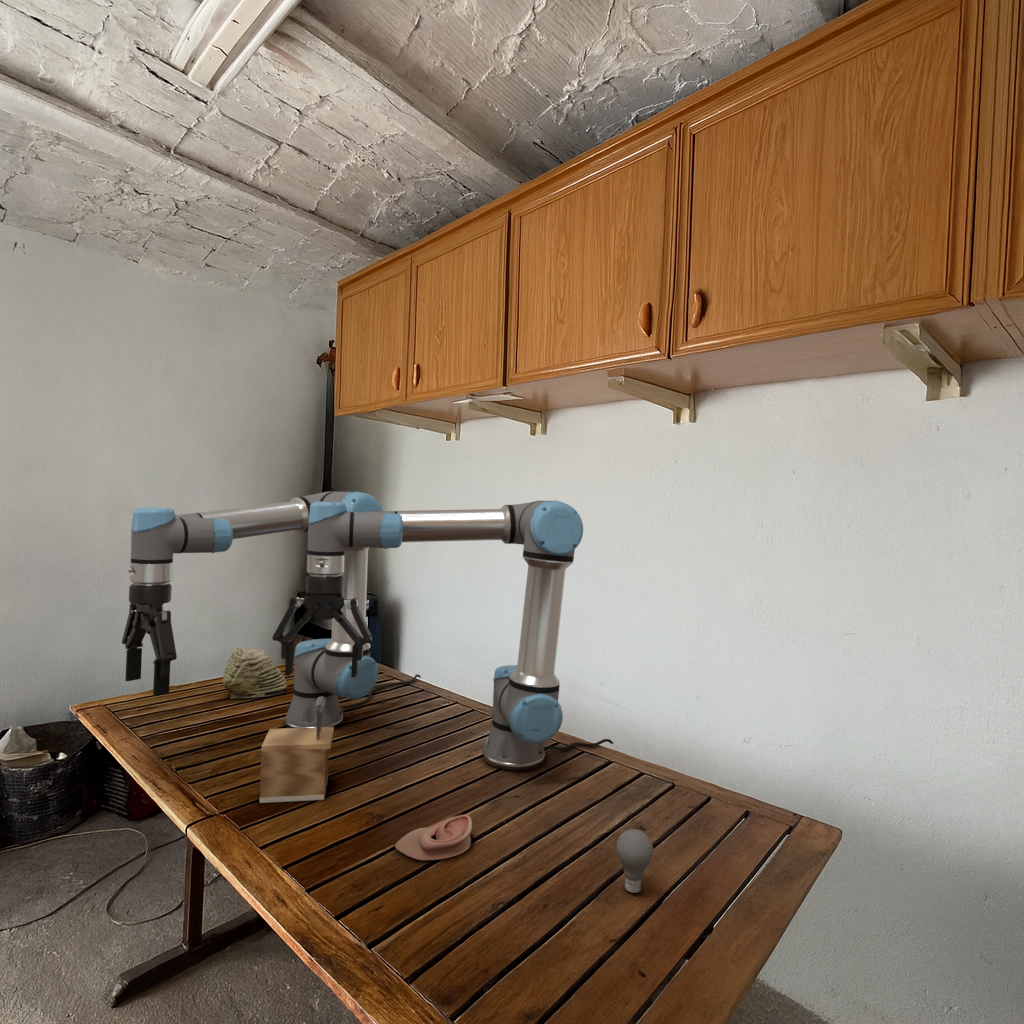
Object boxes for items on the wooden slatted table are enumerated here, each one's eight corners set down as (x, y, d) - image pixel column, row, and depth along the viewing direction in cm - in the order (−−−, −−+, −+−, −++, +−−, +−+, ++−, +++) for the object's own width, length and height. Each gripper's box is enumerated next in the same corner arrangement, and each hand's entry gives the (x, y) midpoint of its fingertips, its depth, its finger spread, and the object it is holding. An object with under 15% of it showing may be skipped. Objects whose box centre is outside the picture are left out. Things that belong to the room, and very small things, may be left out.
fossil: (218, 695, 195) (220, 647, 195) (278, 685, 208) (279, 640, 207) (228, 703, 189) (230, 653, 188) (289, 692, 201) (290, 645, 201)
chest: (327, 779, 142) (329, 732, 142) (324, 799, 133) (326, 749, 132) (267, 781, 139) (269, 734, 139) (259, 802, 130) (261, 751, 130)
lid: (333, 731, 142) (335, 693, 142) (330, 748, 133) (332, 707, 132) (269, 733, 139) (270, 694, 139) (261, 751, 130) (262, 708, 130)
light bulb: (610, 879, 108) (613, 822, 108) (644, 879, 109) (647, 822, 109) (619, 902, 102) (622, 840, 102) (655, 901, 103) (658, 840, 103)
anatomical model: (389, 833, 113) (412, 803, 124) (388, 855, 113) (411, 823, 124) (460, 844, 110) (477, 813, 121) (459, 867, 110) (476, 833, 121)
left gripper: (106, 577, 134) (102, 677, 134) (157, 592, 118) (153, 705, 119) (145, 575, 140) (141, 671, 140) (198, 589, 124) (193, 697, 124)
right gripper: (258, 574, 129) (255, 678, 129) (382, 579, 131) (378, 681, 131) (270, 570, 136) (267, 668, 137) (387, 574, 138) (383, 671, 138)
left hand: (146, 687), depth 129 cm, fingers open, 13 cm apart
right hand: (321, 674), depth 134 cm, fingers open, 13 cm apart
